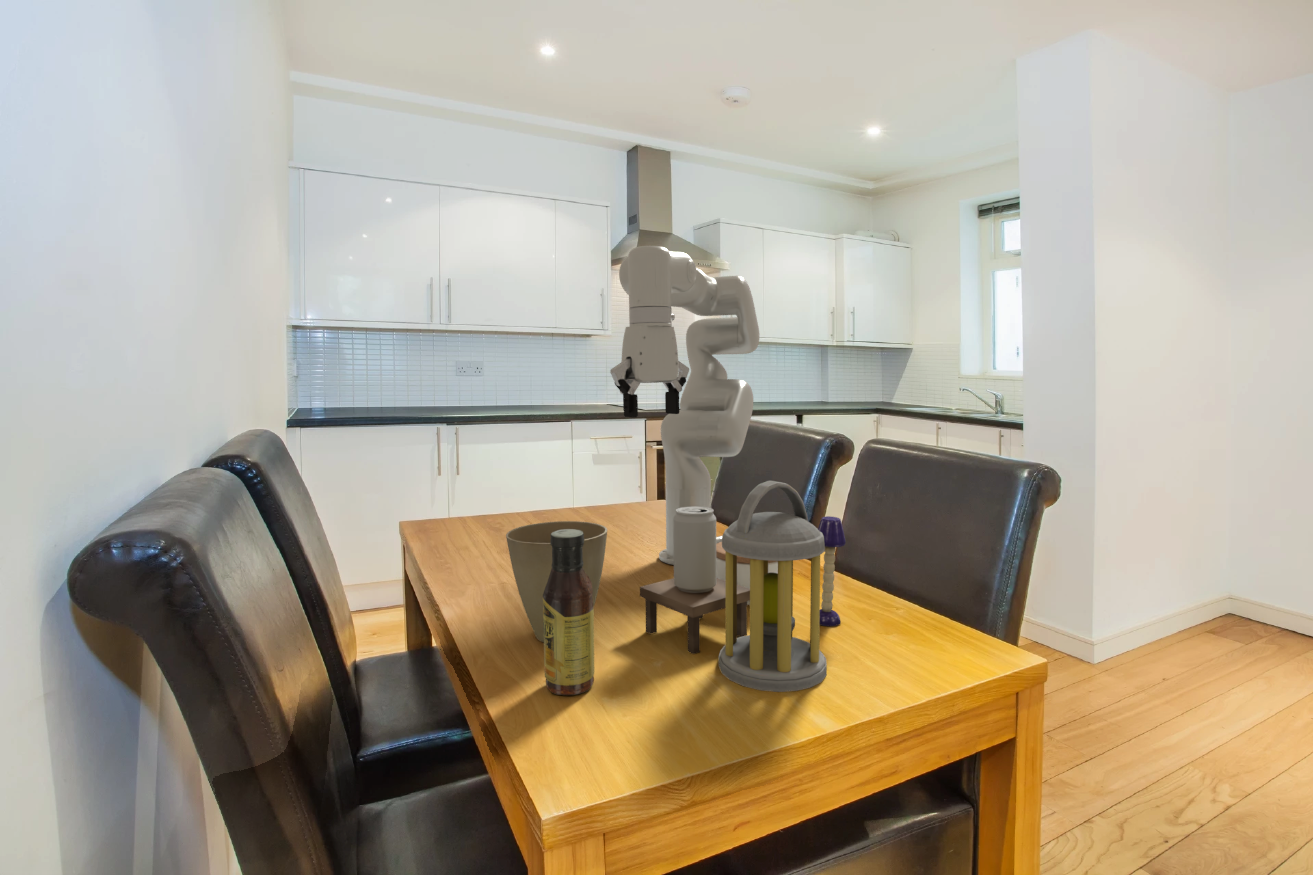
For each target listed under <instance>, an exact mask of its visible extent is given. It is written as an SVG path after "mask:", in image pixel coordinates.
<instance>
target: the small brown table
mask: <svg viewBox="0 0 1313 875" xmlns="http://www.w3.org/2000/svg"><path fill="white" fill-rule="evenodd" d="M716 580H717V583H716V585H715V586H714V587H713V588H712V590H710V591H708V592H703V593H688V592H684V591H681V590H679V589H678V587H677V586H675V584H674V577H672V578H669V579H665V580H661V581H657V582H654V583H650V584H646V585H642V586H639V597H641V598H643V599H644V600H645V606H644V607H645V633H648V634H649V635H652V634H655V633H657V632H658V626H657V625H658V621H657V618H658V616H657V615H658V614H657V612H658V611H657V610H658V608H657V605H660V606H662V607H665V608H667V609H669V610H672V611H675V612H677V613H679V614H682V615H685V616H686V617H687V652H688V653H690V654H692V655H695V654H697V653H700V651H701V650H700V649H701V648H700V646H701V642H700V641H701V640H700V637H701V636H700V635H701V634H700V632H701V631H700V630H701V629H700V624H701V622H700V621H701V620H700V619H703V618H704V616H705V615H708V614H710V613H714V612H716V611H719V610H723V609H724V610H725V609H726V581H725V580H722V579H718V578H716ZM749 600H750V589H749V588H746V587H743V586H740V585H737V637H742V636H748V605H747V601H749Z"/></svg>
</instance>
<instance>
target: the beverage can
mask: <svg viewBox="0 0 1313 875" xmlns="http://www.w3.org/2000/svg"><path fill="white" fill-rule="evenodd" d="M714 511H715V510H714V509H713V508H712V507H711V508H708V507H697V506H693V507H682V508H678V509H676V515H675V516H674V518H673V537H674V565H673V578H674V584H675V586H677V587H678V589H679V590H681V591H684V592H688V593H703V592H708V591H710V590H712V588H713V587H714V586H715V585H716V583H717V580H716V537H717V517H716V515H715V514H714Z"/></svg>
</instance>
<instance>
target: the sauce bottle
mask: <svg viewBox="0 0 1313 875" xmlns="http://www.w3.org/2000/svg"><path fill="white" fill-rule="evenodd" d="M550 544H551V546H552V569H551V572H550V575H549V579H548V582H547V584H546V587H545V590H544V593H543V631H544V642H543V661H544V662H543V664H544V669H543V670H544V672H543V673H544V678H545V684H546V687H547V689H548V690H549V691H550V692H551V693H552V694H553V695H559V696H561V695H562V696H574V695H576V696H577V695H580V694H584V693H586V692H589V690H590V689H591V688H592V686H593V685H594V680H595V614H594V613H595V611H594V610H595V606H594V607H593V598H592V595H593V589H592V583H591V580H590V578H589V576H587V574H586V573H585V571H584V569H583V563H584V562H583V553H582V547H583V545H584V534H583V532H582V531H580V530H576V529H563V530H557V531H555V532H552V533H551V539H550Z"/></svg>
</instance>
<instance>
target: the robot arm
mask: <svg viewBox="0 0 1313 875" xmlns="http://www.w3.org/2000/svg"><path fill="white" fill-rule="evenodd" d="M618 277H619V278H618V279H619V281H620V285H621V287H622V289H623V291H624V292H625V293H626V294H627V295H628V308H629V309H628V313H629V314H628V321H629V323H628V324H629V326H625V329H624V334H623V339H622V346H621V347H622V348H621V362H620V363H618V364H617V365H615V366H614V367H612V368H610V370H609V373H610V374H611V375H610V376H611V377H612V379H613V382H614V385H615V387H617V389H618V390H619V393H620V395H622V398H623V399H622V400H623V404H622V406H623V407H622V408H623V416H624V417H626V418H638V417H639V407H638V403H639V401H638V398H639V397H638V394H635V392H636V391H637V390H638V388H639V387H640V384H653V383H663V385H664V387H665V388H666V390H667V391H665V394H664V395H665V396H664V400H665V401H664V402H665V403H664V404H665V405H664V406H665V410H664V411H665V414H667V415H665V417H664V418H663V420H662V421H661V425H660V437H661V444H662V449H663V456H664V463H665V464H664V465H665V466H664V467H665V532H666V533H665V542H666V543H665V548H664V549H662V550H661V551H660V552H659V553H658V554H659V555H658V559H659V560H660V561H661V562H662V563H665V564H668V565H673V566H674V537H673V518H674V516H675V515H676V509H678V508H682V507H693V506H697V507H708V508H712V505H711V503H712V497H711V496H712V490H711V489H712V480H711V479H712V477H711V475H710V472H709V470H708V468H707V466H706V465H705V463H704V462H703V460H702V459H701V458H700V457H702V458H703V457H710V458H711V457H713V458H714V457H715V458H716V457H717V458H719V457H720V458H731V457H735V456H737V455H739V454H740V452H741V451H742V449H743V446H744V443H745V440H746V436H747V434H748V430H749V426H750V422H751V419H752V415H753V410H754V394H753V390H752V388H751V386H750V384H749V383H748V382H746V381H745V380H743V379H737V378H733V379H732V378H728V372H727V370H726V368H725V367H724V366H723V365H722V363H721V362H720V361H719V360H718V359H717V358H715V357H714V355H717V356H718V355H747V354H751V353H753V352H754V351H756V349H757V348H758V347H759V343H760V328H759V324H758V323H759V322H758V317H757V314H756V313H757V312H756V307H755V303H754V302H755V301H754V298H753V294H752V291H751V289H750V285H749V283H748V281H746V279H745V278H744V277H743V276H741V275H729V276H728V275H727V276H724V275H723V276H709V275H707V274H706V273H705V272H704V271H703V270H701V269H699V268H698V267H696V263H695V262H694V260H693V258H691V256H690V255H689V254H687V253H685V252H683V251H677V250H676V251H674V250H668V248H667V247H664V246H659V245H642V246H641V245H640V246H637V247H634V248H632V249H631V250H630V251H629V253H628V255H627V256H626V257H625V258H624V259H623V260H622V262H621V263H620V266H619V269H618ZM672 307H673V308H682V309H684V310H686V311H688V312H690V313H692V314H694V315H696V316H701V317H710V318H702V319H698V320H696V321H693V322H692V323H691V324H690V325H689V326H688V327H687V330H686V333H685V345H686V354H687V358H688V363H689V367H690V368H689V367H688V366H687V365H685V364H684V363H682V361H679V352H678V344H677V342H678V341H677V336H676V332H675V327H674V326H672V322H673V321H674V320H675V314H674V313H673V312H672V311H673V310H672ZM712 316H713V317H712ZM714 316H715V317H714ZM716 316H717V317H716ZM718 316H734V317H718ZM735 316H736V317H735ZM688 375H689V376H688ZM687 377H688V379H687ZM684 385H685V387H684ZM683 387H684V390H683ZM681 392H682V394H681V397H680V393H681ZM722 536H723V535H718V536H716V544H717V543H719V542H722Z"/></svg>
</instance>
